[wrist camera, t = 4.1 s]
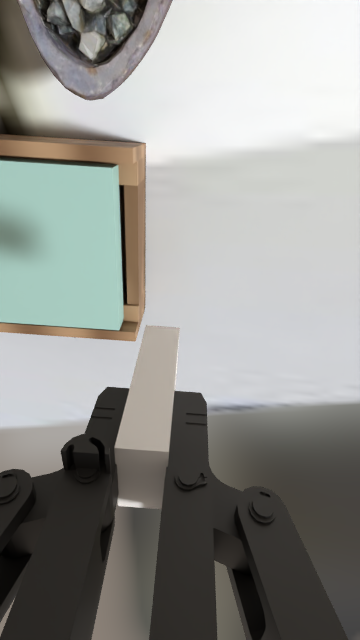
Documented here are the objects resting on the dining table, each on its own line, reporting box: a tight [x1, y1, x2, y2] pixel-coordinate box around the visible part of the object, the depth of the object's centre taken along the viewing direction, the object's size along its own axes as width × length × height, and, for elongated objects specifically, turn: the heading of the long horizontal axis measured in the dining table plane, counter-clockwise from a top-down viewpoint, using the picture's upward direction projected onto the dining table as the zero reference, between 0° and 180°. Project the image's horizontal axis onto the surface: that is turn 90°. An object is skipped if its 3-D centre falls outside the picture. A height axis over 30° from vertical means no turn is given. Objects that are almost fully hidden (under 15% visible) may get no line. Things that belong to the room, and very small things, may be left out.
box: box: [0, 134, 146, 341], centre depth 28 cm, size 18×15×6 cm
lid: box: [0, 157, 124, 330], centre depth 25 cm, size 17×12×3 cm
